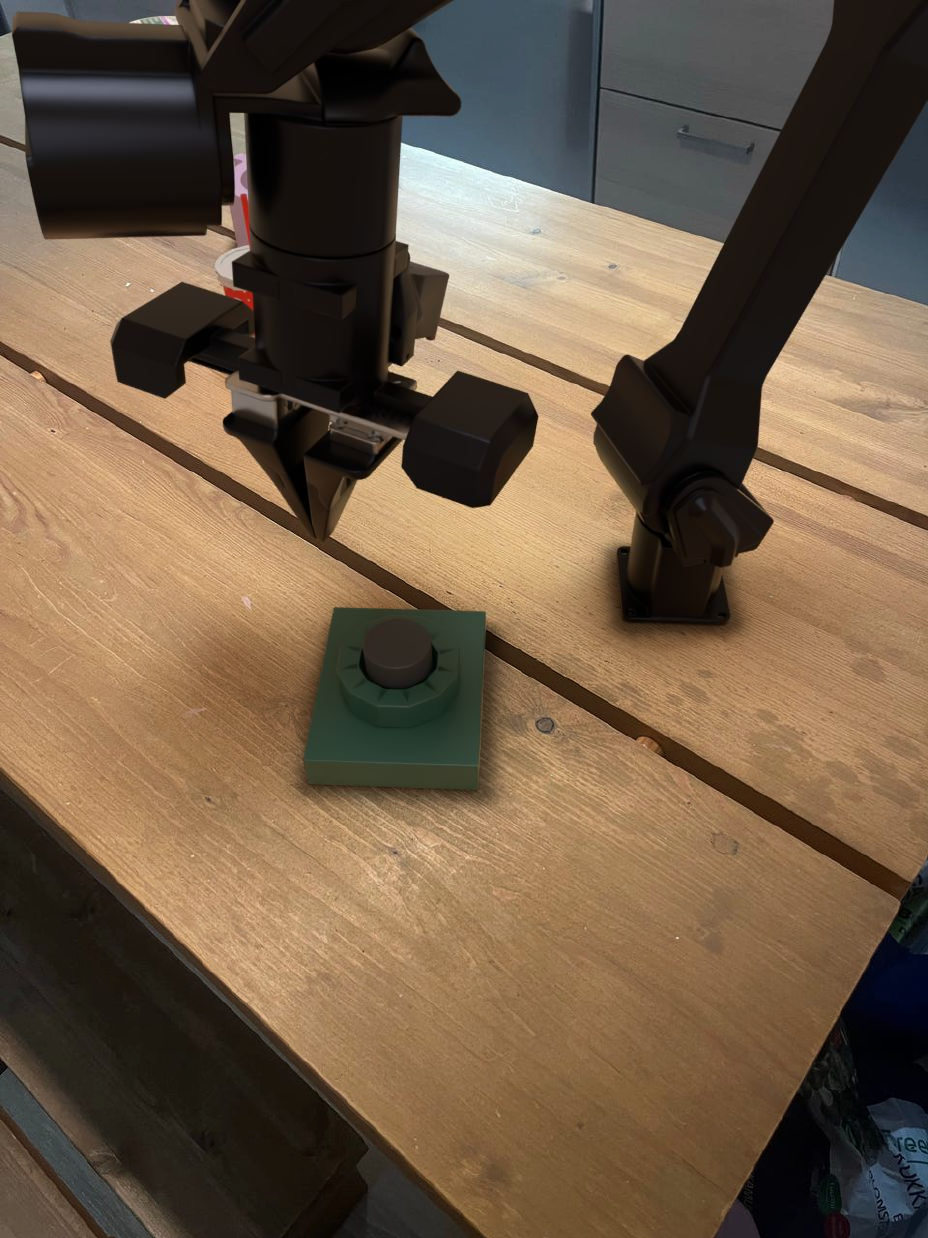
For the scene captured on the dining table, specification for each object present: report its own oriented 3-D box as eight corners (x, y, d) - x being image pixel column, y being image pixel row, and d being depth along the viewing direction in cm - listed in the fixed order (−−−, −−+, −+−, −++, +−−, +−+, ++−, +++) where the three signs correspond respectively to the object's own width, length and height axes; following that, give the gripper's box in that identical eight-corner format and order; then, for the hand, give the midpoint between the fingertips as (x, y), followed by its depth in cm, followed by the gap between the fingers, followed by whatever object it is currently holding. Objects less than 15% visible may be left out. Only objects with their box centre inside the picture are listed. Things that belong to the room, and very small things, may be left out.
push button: (429, 691, 50) (428, 669, 49) (361, 689, 50) (358, 667, 49) (434, 640, 52) (433, 618, 51) (369, 638, 53) (367, 616, 51)
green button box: (478, 790, 50) (478, 745, 47) (308, 784, 50) (297, 739, 47) (485, 636, 57) (485, 588, 55) (337, 632, 58) (330, 584, 55)
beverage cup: (229, 355, 80) (193, 185, 70) (301, 341, 81) (275, 172, 71) (244, 393, 76) (208, 218, 66) (319, 377, 77) (295, 204, 67)
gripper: (608, 223, 41) (547, 510, 52) (235, 120, 45) (251, 407, 56) (514, 325, 33) (465, 638, 44) (75, 191, 37) (129, 507, 48)
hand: (322, 535), depth 48 cm, fingers closed
